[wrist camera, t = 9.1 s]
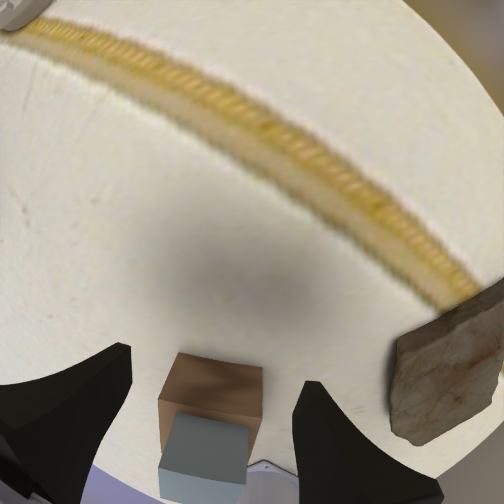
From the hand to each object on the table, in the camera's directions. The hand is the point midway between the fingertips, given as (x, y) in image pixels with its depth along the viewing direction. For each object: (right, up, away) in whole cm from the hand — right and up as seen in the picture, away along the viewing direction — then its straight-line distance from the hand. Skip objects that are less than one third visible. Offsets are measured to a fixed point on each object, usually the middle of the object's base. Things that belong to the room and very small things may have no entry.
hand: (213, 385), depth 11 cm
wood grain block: (-2, -7, +13) cm, 15 cm away
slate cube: (-2, -8, +7) cm, 11 cm away
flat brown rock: (+22, -6, +12) cm, 26 cm away
